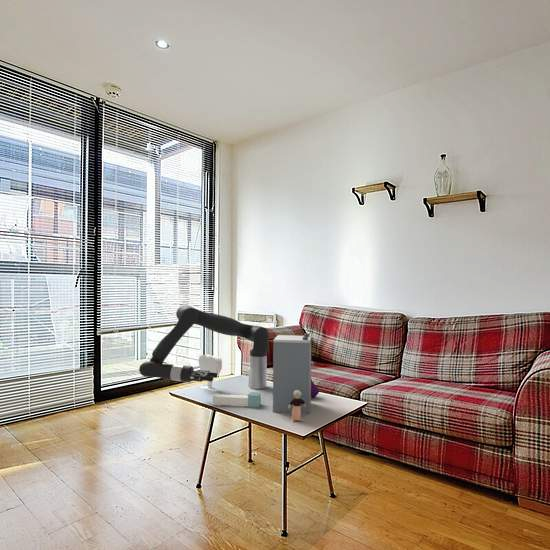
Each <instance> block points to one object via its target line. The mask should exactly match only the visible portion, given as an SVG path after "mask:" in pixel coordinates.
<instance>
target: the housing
mask: <svg viewBox="0 0 550 550" xmlns="http://www.w3.org/2000/svg"><path fill="white" fill-rule="evenodd" d="M272 342H273V346H272V347H273V354H272V357H273V360H272V363H273V365H272V370H273V371H272V412H273V413H283V412H285V413H286V414H287V413H289V414H292V410H293V405H291V407H290V409H289V408H288V406H289V404H290V402H291V401H292V400H293V399H294V398H295V397H294V391H295V390H298V391H300V392H301V396H300V399H302V400H304V402H305V405H306V407H304V405H303V404H301V414H303V413H309V414H310V410H311V403H312V399H311V379H312V364H311V361H312V335H310V333H304V334H303V335H289V334H284V335H283V334H278V335H277V336H275V337H274V339H273V341H272ZM285 413H284V414H285Z"/></svg>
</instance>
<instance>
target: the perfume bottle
mask: <svg viewBox="0 0 550 550" xmlns="http://www.w3.org/2000/svg"><path fill="white" fill-rule="evenodd" d="M314 365H315V364H314V361H313V360H311V366H312V367H314ZM320 392H321V390H320V389H319V388H318V387H317V386H316V384H315V383H314V382H313V379H312V378H311V400H312V399H315V398H317V396H318V394H319V393H320Z"/></svg>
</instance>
